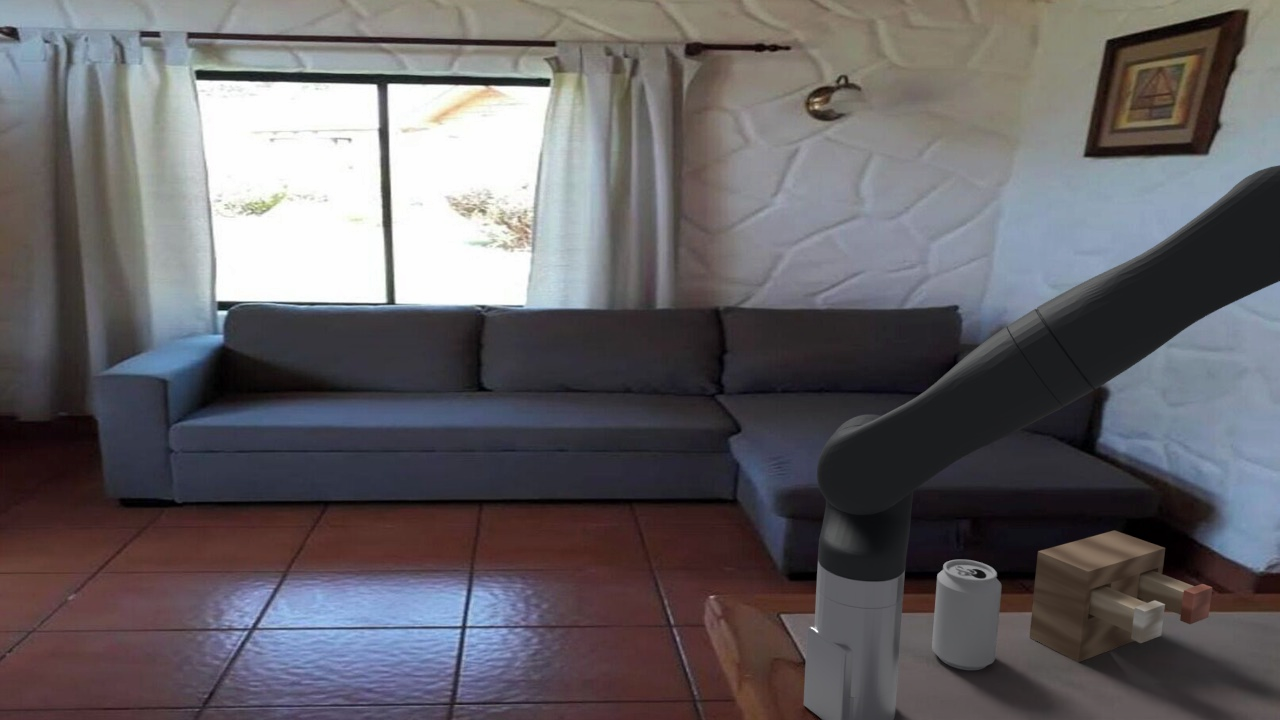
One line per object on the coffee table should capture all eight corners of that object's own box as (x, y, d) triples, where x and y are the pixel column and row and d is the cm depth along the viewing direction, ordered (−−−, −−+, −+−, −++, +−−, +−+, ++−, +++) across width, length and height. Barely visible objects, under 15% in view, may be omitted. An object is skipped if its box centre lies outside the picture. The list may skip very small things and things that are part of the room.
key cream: (1140, 643, 101) (1144, 611, 101) (1069, 611, 109) (1072, 581, 109) (1161, 635, 103) (1165, 604, 103) (1089, 604, 111) (1092, 575, 111)
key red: (1189, 624, 106) (1194, 594, 105) (1118, 594, 114) (1121, 566, 113) (1208, 617, 108) (1212, 587, 107) (1136, 588, 116) (1139, 560, 115)
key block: (1078, 662, 108) (1088, 571, 106) (1029, 637, 114) (1037, 551, 112) (1154, 633, 115) (1165, 548, 113) (1105, 611, 121) (1114, 530, 119)
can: (1000, 677, 104) (1008, 583, 102) (935, 670, 106) (942, 577, 103) (988, 646, 111) (996, 558, 109) (927, 640, 113) (934, 553, 111)
